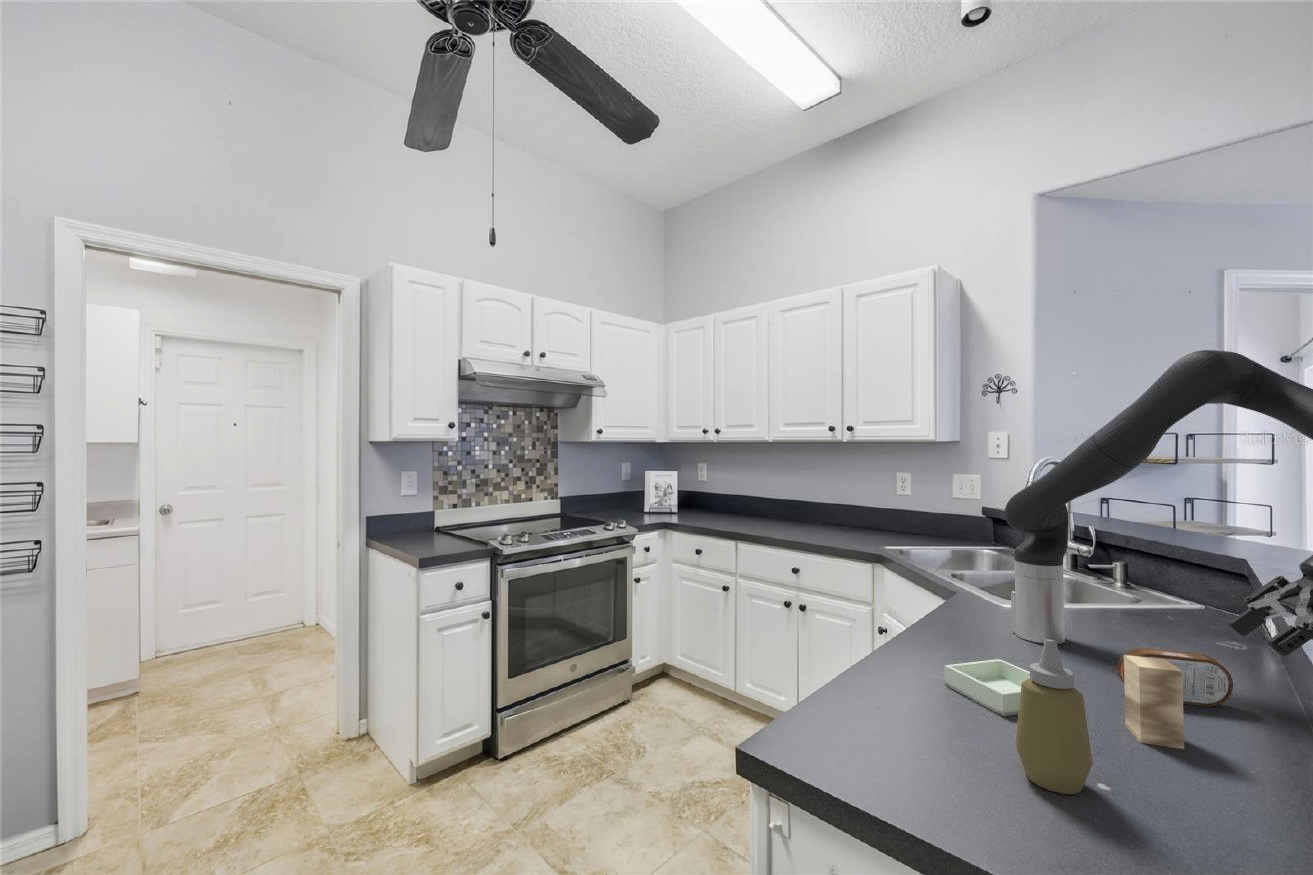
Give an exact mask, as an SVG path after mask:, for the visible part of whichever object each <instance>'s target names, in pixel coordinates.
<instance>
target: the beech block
mask: <svg viewBox="0 0 1313 875" xmlns="http://www.w3.org/2000/svg"><path fill="white" fill-rule="evenodd" d="M1123 655H1124V654H1123ZM1123 684H1124V719H1125V720H1124V721H1125V724H1124V726H1125V728H1126V729H1127V730H1128V731H1129V732H1130V733H1131V734H1132V735H1133V737H1134V738H1136V740H1138V742H1139V743H1141V744H1149V745H1155V746H1161V747H1168V748H1173V749H1181V750H1185V730H1184V729H1185V728H1184V727H1185V726H1184V724H1185V723H1184V720H1185V719H1184V704H1183V678H1182V671H1181V670H1179V669H1178V668H1177V667H1175V666H1174V665H1172V664H1171V663H1169V662H1168V661H1166V660H1165V659H1158V658H1148V657H1139V656H1129V655H1124V683H1123Z"/></svg>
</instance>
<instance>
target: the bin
mask: <svg viewBox="0 0 1313 875" xmlns="http://www.w3.org/2000/svg"><path fill="white" fill-rule="evenodd" d="M943 666H944V673H943V674H944V686H946V687H948V688H950V689H952V690H953V691H955V692H957V693H960V694H961V695H963V696H965V697H966V698H968V699H970V700H972V701H973V702H976V703H978V704H979V705H981V706H983V707H984V708H987V709H989V710H990V711H992V712H995V713H996V714H997V715H1000V716H1002V717H1008V716H1009V717H1010V716H1015V715H1017V716H1018V713H1019V704H1020V694H1021V684H1022V682H1024V681H1025V680H1027V679H1030V670H1029V671H1028V670H1026V669H1024V668H1021V667H1019V666H1016V665H1014V664H1012V663H1010V662H1007V661H1005V660H1002V659H1000V658H999V659H989V660H982V661H981V660H980V661H972V662H965V663H964V662H963V663H956V664H955V663H954V664H947V665H946V664H945V665H943Z"/></svg>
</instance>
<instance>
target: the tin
mask: <svg viewBox="0 0 1313 875" xmlns="http://www.w3.org/2000/svg"><path fill="white" fill-rule="evenodd" d="M1124 655H1129V656H1139V657H1148V658H1158V659H1165V660H1166V661H1168V662H1169V663H1171V664H1172V665H1174V666H1175V667H1177V668H1178V669H1179V670H1181V671H1182V678H1183V705H1190V706H1199V707H1217V706H1219V705H1221V704H1223V703H1226V701H1227V700H1228V699H1230V697H1231V696H1232V694H1233V690H1234V681H1233V677H1232V675H1231V674H1230V672H1229V671H1228V670H1227V669H1226V668H1225V666H1223V664H1220V663H1219V662H1218V661H1217V660H1215V659H1214V658H1212V657H1211V656H1209V655H1207V654H1204V653H1199V652H1190V651H1182V650H1173V649H1172V650H1171V649H1163V648H1162V649H1161V648H1156V647H1155V648H1154V647H1142V646H1141V647H1136V648H1133V649H1130V650H1127V651H1126V652H1125V653H1124V654H1122V656H1120V658H1119V660H1118V663H1117V674H1118V676H1119V679H1120V680H1121V682H1122V683H1123V684H1124Z"/></svg>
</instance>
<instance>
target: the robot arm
mask: <svg viewBox="0 0 1313 875" xmlns="http://www.w3.org/2000/svg"><path fill="white" fill-rule="evenodd" d="M1207 404H1208V405H1209V404H1213V405H1214V404H1217V405H1219V404H1226V405H1229V406H1234V407H1238V408H1241V409H1246V410H1250V411H1254V412H1257V413H1258V414H1259V413H1260V414H1262V415H1265V416H1268V417H1269V418H1272V419H1275V420H1277V421H1279V422H1281V423H1283V424H1285V425H1287V426H1289V427H1290V428H1292V429H1293V430H1296V431H1297V432H1298V433H1300V434H1302V435H1304V436H1305V437H1307V438H1309V439H1310V440H1312V441H1313V388H1311V387H1309V386H1306V385H1303V384H1301V383H1299V382H1297V381H1295V380H1292V379H1290V378H1287V377H1286V376H1283V375H1281V374H1280V373H1277V372H1275V371H1273V370H1272V369H1270V368H1268V367H1266V366H1264V365H1262V364H1260V363H1259V362H1256V361H1255V360H1253V359H1251V358H1249V357H1247V356H1245V355H1244V354H1241V353H1238V352H1234V351H1228V350H1216V349H1215V350H1214V349H1212V350H1211V349H1204V350H1203V349H1202V350H1198V351H1197V350H1196V351H1193V352H1190V353H1187V354H1186V355H1184V356H1182V357H1179V359H1177V360H1176V361H1175V362H1174V363H1172V364H1171V365H1170V366H1169V367H1168V368H1167V369H1166V370H1165V371H1164V372H1163V373H1162V374H1161V375H1160V377H1158V379H1156V381H1154V382H1153V384H1151V386H1149V387H1148V389H1147V390H1145V391H1144V392H1143V394H1141V395H1140V397H1138V398H1137V399H1136V400H1135V401H1134V402H1132V403H1131V404H1130V405H1128V407H1126V408H1125V409H1124V410H1122V411H1121V412H1120V413H1118V414H1117V415H1116V416H1115V417H1114V418H1113V419H1111V420H1110V421H1109V422H1108V423H1106V424H1105V425H1103V426H1102V427H1101V428H1099V429H1098V430H1097V431H1095V432H1094V433H1093V434H1092V435H1091V436H1090V437H1088V438H1087V439H1086V440H1085V441H1083V442H1082V443H1081V444H1080V445H1079V446H1077V448H1075V449H1074V450H1073V451H1072V452H1071V453H1070V454H1068V455H1067V456H1066V457H1064V458H1063V459H1062V460H1061V461H1060V462H1059V463H1057V464H1056V465H1055V466H1053V467H1052V469H1051V470H1049V471H1048V472H1047V473H1045V474H1044V475H1042V477H1040V478H1039V479H1037V480H1035V481H1034V482H1033V483H1031V484H1029V485H1028V486H1027V487H1024V488H1023V489H1022V490H1020V491H1018V492H1017V493H1015V494H1014V495H1012V497H1010V499H1009V500H1008V501H1007V503H1006V504H1005V508H1004V517H1005V522H1006V523H1007V524H1008V526H1010V527H1011V528H1012V529H1014V530H1015V531H1018V532H1022V533H1026V538H1025V539H1024V541H1023V542H1022V543H1020V544H1019V545H1018V546H1016V547H1015V549H1014V551H1013V552H1014V554H1013V556H1014V557H1013V558H1014V559H1013V562H1014V563H1013V564H1014V590H1012V591H1011V592H1010V603H1011V610H1010V611H1011V633H1013V634H1015V635H1016V636H1017V637H1019V638H1020V639H1022V640H1027V641H1029V642H1034V643H1038V644H1044V642H1045V640H1046V639H1050V640H1054V641H1056V643H1057V645H1062V644H1063V643H1065V642H1066V641H1065V638H1066V636H1065V635H1066V634H1065V584H1064V582H1065V581H1064V579H1065V578H1064V557H1065V555H1066V554H1067V550H1068V544H1069V511H1068V507H1067V504H1068V503H1069V502H1071V501H1073V500H1075V499H1077V498H1080V497H1082V496H1085V495H1087V494H1089V493H1092V492H1094V491H1097V490H1099V489H1102V488H1104V487H1106V486H1108V485H1111V484H1113V483H1114V482H1116V481H1117V480H1119V479H1121V478H1123V477H1124V476H1125V475H1127V474H1128V473H1130V472H1131V471H1133V470H1134V469H1135V468H1137V467H1138V466H1140V464H1142V463H1143V462H1144V461H1146V460H1147V458H1148V457H1150V455H1151V454H1152V453H1153V451H1154V450H1155V448H1156V447H1157V445H1158V443H1159V442H1160V440H1161V439H1162V437H1163V435H1164V434H1166V432H1167V431H1168V430H1169V429H1170V428H1172V427H1173V426H1174V425H1175V424H1176V423H1177V422H1179V421H1180V420H1182V419H1184V418H1185V417H1187V416H1188V415H1190V414H1191V413H1193V412H1194V411H1196V410H1198V409H1199V408H1201V407H1203V406H1205V405H1207ZM1299 570H1300V572H1301V573H1302V577H1300V578H1299V579H1297V580H1295V581H1292V582H1291V581H1290V580H1288V579H1287V578H1285V577H1284V576H1283V575H1279V576H1275V577H1274V578H1273V579H1271V580H1270V581H1268V582H1266V584H1264V585H1262V586H1261V587H1259V588H1258V589H1257V590H1255V591H1254V592H1252V593H1251V594H1249V595H1248V596H1246V597H1244V599H1243V602H1245V604H1247V609H1246V610H1245V611H1243V612H1242V613H1240V614H1239V615H1238V616H1236V617H1235V618H1233V619H1232V620H1230V621H1229V622H1228V626H1229V628H1231V629H1232V630H1233V631H1234V632H1236V633H1237V634H1238V635H1240V636H1243V637H1244V636H1245V637H1246V636H1247V635H1249V634H1250V633H1252V632H1253V631H1255V629H1258V628H1259V627H1260V626H1261V625H1263V624H1264V623H1266V622H1267V621H1269V620H1271V619H1275V618H1278V617H1284V618H1291V617H1293V616H1295V617H1296V618H1295V621H1294V626H1293V625H1291V624H1289V625H1288V626H1287V627H1286V628H1285V629H1283V630H1281V631H1279V632H1278V633H1277V634H1275V635H1274V636H1273V637H1271V638H1269V639H1268V640H1267V645H1268V646H1269V647H1270V648H1271V649H1273V650H1274V651H1275V652H1276V653H1277V654H1279V655H1281V656H1284V657H1285V656H1289V655H1290V654H1292V653H1294V652H1295V651H1296V650H1297V649H1299V648H1301V647H1302V646H1304V645H1305V644H1306V643H1308V642H1309V641H1311V640H1312V641H1313V554H1312V555H1311V556H1309V557H1308V558H1306V559H1305V560H1303V561H1302V562H1300V564H1299ZM1263 596H1264V597H1263ZM1262 597H1263V598H1262ZM1260 598H1261V599H1260Z"/></svg>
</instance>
